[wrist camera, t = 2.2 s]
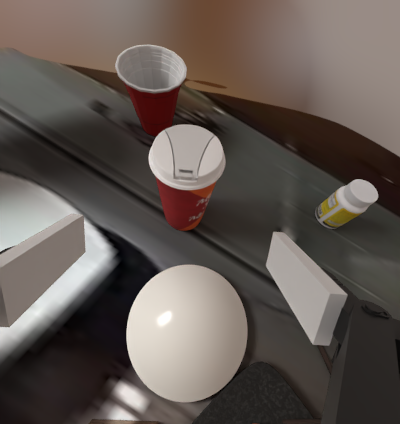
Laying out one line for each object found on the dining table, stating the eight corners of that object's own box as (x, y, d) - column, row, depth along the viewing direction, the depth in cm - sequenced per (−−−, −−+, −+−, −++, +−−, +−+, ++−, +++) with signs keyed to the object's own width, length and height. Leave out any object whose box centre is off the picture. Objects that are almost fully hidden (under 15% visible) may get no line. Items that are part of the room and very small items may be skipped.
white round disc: (115, 396, 24) (113, 399, 23) (140, 262, 31) (139, 260, 30) (247, 401, 25) (250, 404, 24) (242, 270, 32) (245, 268, 31)
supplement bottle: (346, 222, 38) (388, 198, 30) (327, 233, 36) (366, 210, 29) (327, 201, 39) (363, 172, 32) (308, 210, 38) (341, 183, 30)
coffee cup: (207, 239, 34) (228, 185, 20) (154, 235, 33) (140, 177, 20) (209, 194, 37) (227, 123, 24) (161, 189, 37) (153, 115, 24)
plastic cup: (144, 154, 40) (132, 93, 29) (121, 117, 44) (103, 52, 33) (194, 135, 43) (200, 75, 33) (168, 103, 47) (166, 39, 37)
